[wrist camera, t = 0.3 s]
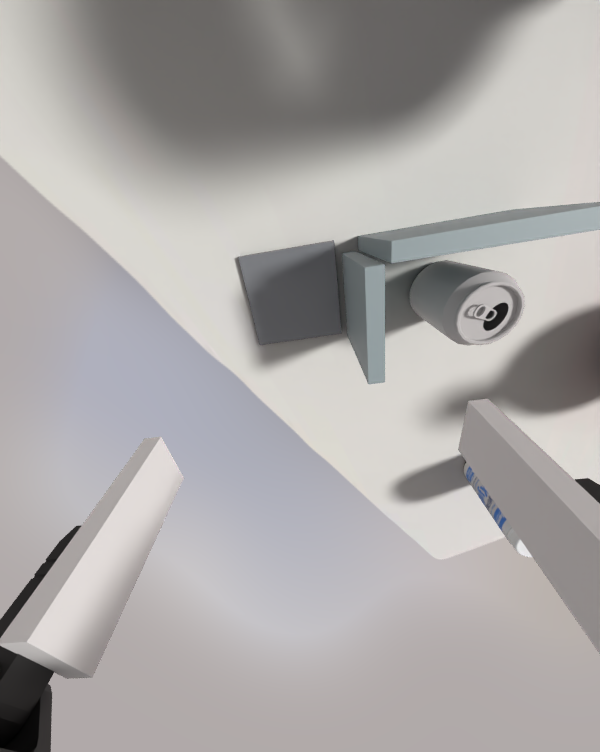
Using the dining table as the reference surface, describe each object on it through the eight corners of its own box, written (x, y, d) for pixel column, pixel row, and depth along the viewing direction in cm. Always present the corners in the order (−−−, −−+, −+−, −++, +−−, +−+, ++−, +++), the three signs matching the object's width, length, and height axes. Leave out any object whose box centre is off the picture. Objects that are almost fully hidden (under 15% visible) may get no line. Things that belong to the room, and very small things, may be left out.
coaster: (239, 256, 34) (238, 257, 33) (333, 240, 33) (333, 240, 32) (260, 343, 39) (259, 345, 39) (340, 331, 38) (341, 333, 38)
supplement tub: (453, 461, 51) (503, 539, 38) (501, 436, 48) (574, 512, 35) (474, 486, 55) (527, 565, 42) (521, 464, 52) (594, 543, 39)
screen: (340, 239, 33) (364, 245, 20) (512, 209, 31) (649, 197, 19) (347, 334, 39) (368, 384, 26) (491, 314, 37) (584, 356, 25)
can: (443, 324, 38) (497, 361, 27) (396, 307, 37) (434, 338, 26) (476, 271, 34) (553, 290, 24) (426, 250, 33) (483, 260, 23)
